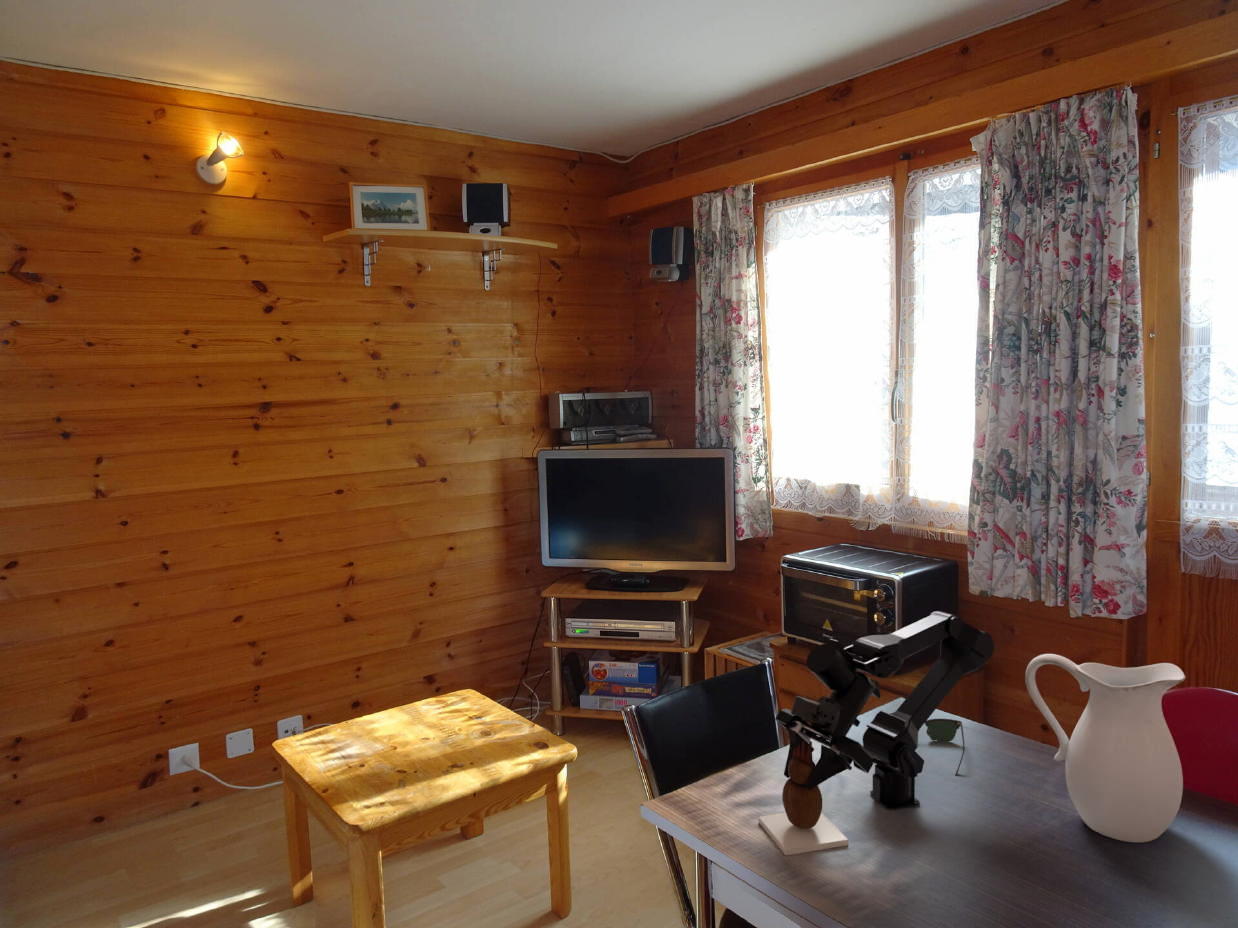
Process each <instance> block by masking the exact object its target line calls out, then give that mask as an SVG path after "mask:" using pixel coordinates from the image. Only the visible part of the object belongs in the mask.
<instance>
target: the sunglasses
mask: <svg viewBox="0 0 1238 928" xmlns="http://www.w3.org/2000/svg"><path fill="white" fill-rule="evenodd" d="M924 726H925V727H927V729H926V735H927V736H928V737H929V739H930V740H931V741H932V740H937V741H936V742H943V741H951V742H952V741H953V740H954V739H955V737H956V734H957V731H958V730H959V729H960V731H961V737H962V738H961V739H962V754H961V758H960V760H959V764H958V767H957V770H956V772H955V775H954V776H957V775H958V773H959V770H960V767H961V764H962V762H963V761H962V760H963V758H964V754H965V736H964V729H963V728H964V727H963V722H962V721H961V720H957V719H950V718H931V719H927V721H926V722H925V723H924Z"/></svg>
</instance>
